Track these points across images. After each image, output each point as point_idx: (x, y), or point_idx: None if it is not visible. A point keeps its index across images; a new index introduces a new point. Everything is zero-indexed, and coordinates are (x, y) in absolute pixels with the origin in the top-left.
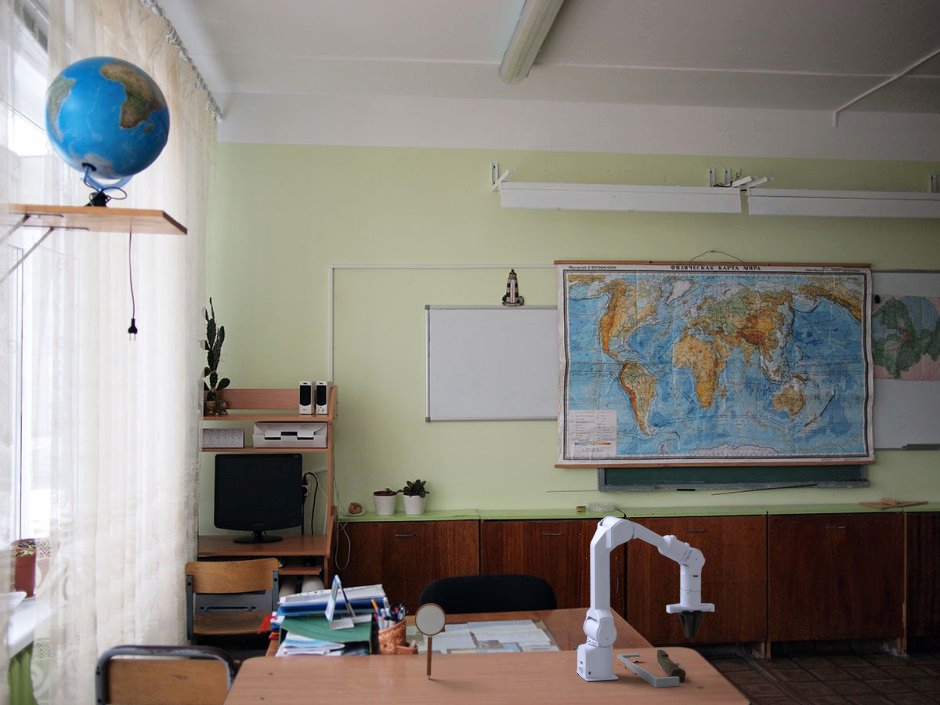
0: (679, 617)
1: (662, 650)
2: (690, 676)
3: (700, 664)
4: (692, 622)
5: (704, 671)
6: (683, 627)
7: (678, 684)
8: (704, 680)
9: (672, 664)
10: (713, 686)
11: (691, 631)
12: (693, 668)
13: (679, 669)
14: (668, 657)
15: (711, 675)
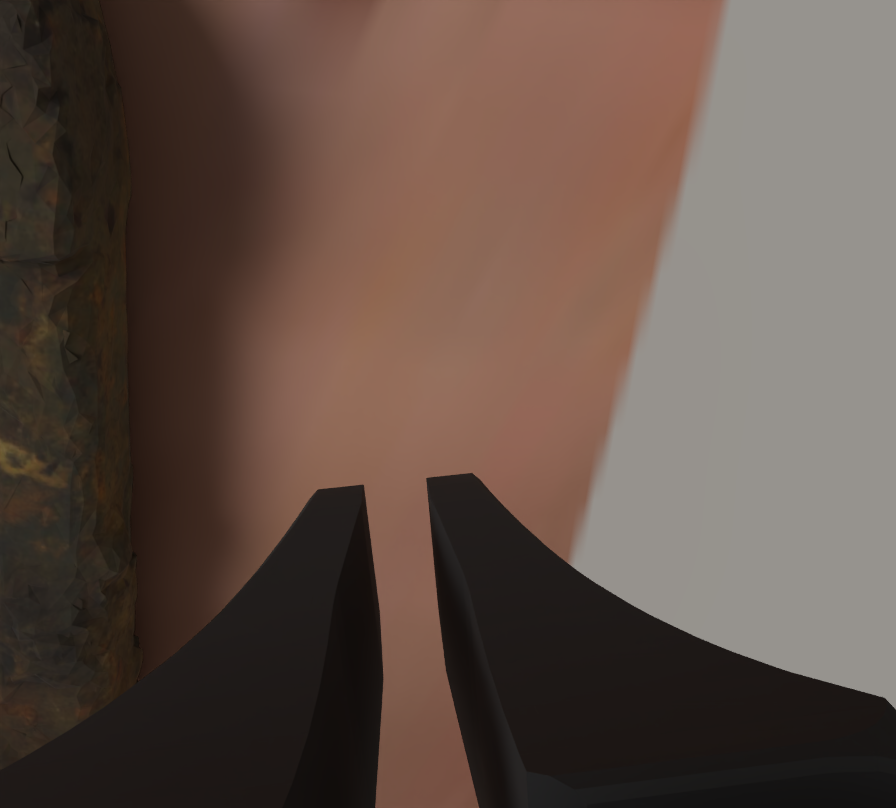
0: (40, 757)
1: (7, 37)
2: (296, 516)
3: (669, 51)
4: (488, 802)
5: (551, 356)
6: (250, 582)
7: None
8: (387, 639)
9: (20, 620)
10: (388, 786)
11: (375, 750)
12: (478, 226)
13: None
14: (67, 287)
15: (549, 497)
